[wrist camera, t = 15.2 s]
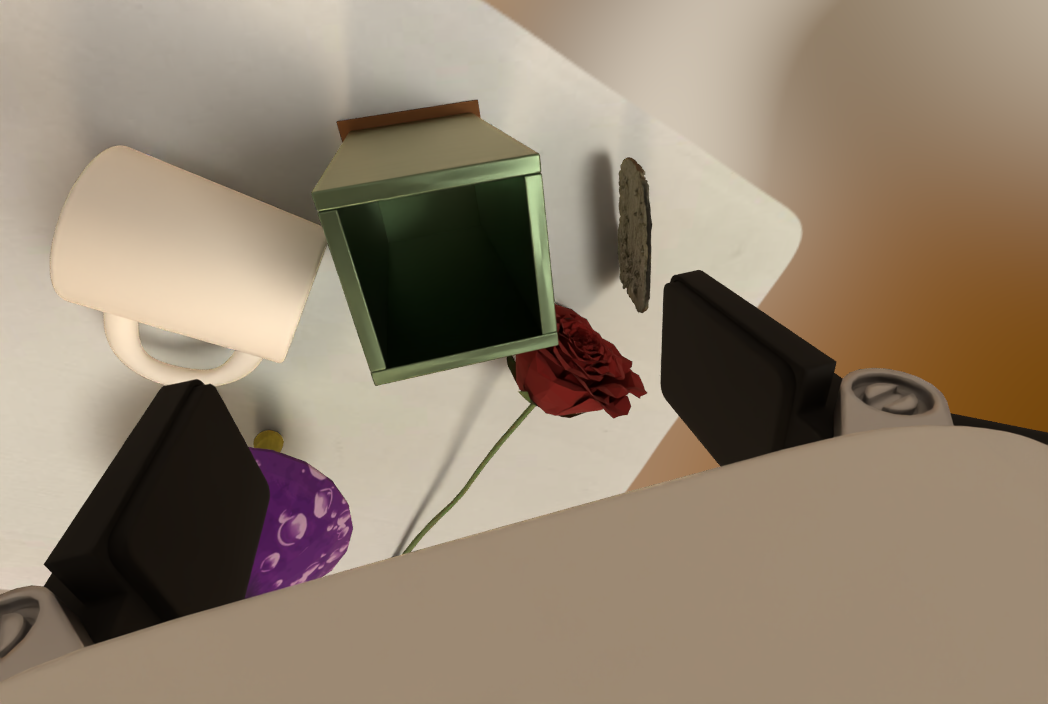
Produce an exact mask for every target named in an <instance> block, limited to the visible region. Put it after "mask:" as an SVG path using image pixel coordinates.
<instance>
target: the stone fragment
mask: <svg viewBox="0 0 1048 704" xmlns="http://www.w3.org/2000/svg"><path fill="white" fill-rule="evenodd" d="M644 175H645V171H644V170H643V169H642V167H641V166H640V165H639V164H637V162H636V161H635V160H634V159H632V158H629V157H628V158H626V159H624V160H623V162H622V164H621V170H620V171H619V186H620V187H619V194H620V197H619V212H620V216H621V217H620V219H619V221H620V222H619V227H618V260H619V267H620V280H621V283H623V289H625V288H627V294H629V297H630V298H631V300H632V302H633V303H634V304H635V307H636V309H637V311H638V312H641V313H643V312H645V311H646V310H647V309H648V302H649V299H650V275H651V229H652V221H651V213H650V210H651V209H650V203H649V185H648V184H647V180H645V177H644Z"/></svg>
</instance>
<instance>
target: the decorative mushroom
mask: <svg viewBox="0 0 1048 704" xmlns="http://www.w3.org/2000/svg"><path fill="white" fill-rule="evenodd" d="M283 443H284V441H283V438H282V436H281V435H280V434H279V433H278V432H275V431H272V430H266V431H263V432H261V433H259V434H258V435H257V436H256V437H255V439H254V444H253V445H254V448H252V447H249V449H250V451H251V453H252V455H253V457H254V458H255V460H256V462H257V464H258V466H259V468H260V469H261V471H262V473H263V475H264V477H265V479H266V480H267V483H268V485H269V490H270V500H269V504H268V508H267V512H266V516H265V520H264V524H263V528H262V532H261V536H260V540H259V544H258V548H257V552H256V556H255V560H254V564H253V568H252V572H251V576H250V580H249V583H248V587H247V591H246V595H245V599H247V598H251V597H254V596H258V595H261V594H265V593H268V592H272V591H276V590H279V589H283V588H286V587H290V586H293V585H297V584H300V583H304V582H307V581H311V580H314V579H318V578H321V577H323V576H324V575H326V574H327V573H329V572H330V571H332V569H333V568H334V567H335V565H336V564H337V563H338V562H339V560H340V559H341V558H342V556H343V555H344V554H345V553H346V551H347V549H348V545H349V541H350V538H351V534H352V530H353V526H352V521H351V515H350V510H349V505H348V503H347V501H346V500H345V498H344V497H343V495H342V494H341V493H340V491H339V490H338V488H337V487H336V485H335V484H334V483H333V481H332V480H331V479H329V478H328V477H326V476H325V475H324V474H322V473H321V472H319V471H318V470H317V469H315V468H314V467H312V466H311V465H310V464H308V463H307V462H305V461H302V460H299V459H296V458H294V457H291V456H288V455H285V454H283V453H280V451H281V449H282V447H283Z"/></svg>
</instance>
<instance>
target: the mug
mask: <svg viewBox="0 0 1048 704" xmlns="http://www.w3.org/2000/svg"><path fill="white" fill-rule="evenodd" d="M327 244H328V243H327V240H326V237H325V234H324V231H323V228H322V226H320V225H318V224H315V223H313V222H311V221H308V220H306V219H303V218H301V217H298V216H296V215H293V214H291V213H289V212H286V211H284V210H281V209H279V208H276V207H274V206H271V205H269V204H267V203H264V202H262V201H259V200H257V199H254V198H252V197H249V196H247V195H244V194H242V193H240V192H237V191H235V190H232V189H230V188H227V187H225V186H222V185H220V184H218V183H215V182H213V181H210V180H208V179H205V178H203V177H200V176H198V175H196V174H193V173H191V172H188V171H186V170H183V169H181V168H178V167H176V166H174V165H171V164H169V163H166V162H164V161H161V160H159V159H156V158H154V157H152V156H149V155H147V154H144V153H142V152H139V151H137V150H134V149H132V148H130V147H127V146H113V147H110V148H108V149H106V150H104V151H103V152H101V153H100V154H98V155H97V156H96V157H95V158H94V159H93V160H92V161H91V162H90V163H89V164H88V165H87V167H86V168H85V169H84V170H83V172H82V173H81V174H80V176H79V177H78V179H77V180H76V182H75V184H74V185H73V187H72V189H71V191H70V193H69V195H68V197H67V199H66V201H65V203H64V206H63V208H62V210H61V213H60V216H59V219H58V222H57V225H56V228H55V232H54V236H53V240H52V246H51V253H50V276H51V281H52V285H53V287H54V289H55V291H56V293H57V294H58V295H59V296H60V297H61V298H62V299H64V300H66V301H68V302H71V303H75V304H78V305H82V306H85V307H89V308H92V309H95V310H99V311H102V312H104V313H103V317H104V329H105V334H106V337H107V340H108V343H109V345H110V347H111V349H112V350H113V352H114V353H115V355H116V356H117V357H118V358H119V359H120V361H121V362H123V363H124V364H125V365H126V366H127V367H128V368H130V369H131V370H132V371H134V372H135V373H137V374H139V375H140V376H142V377H144V378H146V379H149V380H151V381H154V382H156V383H159V384H163V385H171V384H176V383H180V382H185V381H190V380H194V379H198V380H201V381H202V382H203V383H204V384H205V385H206V384H212V385H213V386H214V387H215V386H220V385H225V384H228V383H232V382H234V381H237V380H239V379H241V378H243V377H245V376H246V375H248V374H249V373H251V372H252V371H253V370H254V369H255V368H256V367H257V366H258V365H259V364H260V362H261V361H262V359H263V358H264V359H267V360H270V361H274V362H277V363H281V362H283V361H284V360H285V357H286V355H287V352H288V349H289V347H290V344H291V341H292V339H293V336H294V333H295V331H296V328H297V325H298V322H299V320H300V317H301V314H302V312H303V309H304V306H305V303H306V301H307V298H308V295H309V293H310V290H311V287H312V284H313V282H314V279H315V276H316V274H317V271H318V268H319V265H320V263H321V260H322V257H323V254H324V252H325V249H326V246H327ZM139 322H140V323H143V324H147V325H150V326H154V327H157V328H161V329H164V330H167V331H171V332H174V333H178V334H181V335H185V336H188V337H191V338H195V339H198V340H202V341H205V342H209V343H212V344H215V345H219V346H222V347H226V348H229V349H233V350H235V352H234V353H233V355H232V356H231V357H230V358H229V359H228V360H227V361H226V362H225V363H224V364H223V365H221V366H219V367H217V368H215V369H210V370H199V369H190V368H184V367H179V366H175V365H171V364H168V363H164V362H162V361H159V360H157V359H155V358H153V357H151V356H150V355H149V354H147V353H146V351H145V350H144V349H143V347H142V345H141V342H140V337H139Z"/></svg>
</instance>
